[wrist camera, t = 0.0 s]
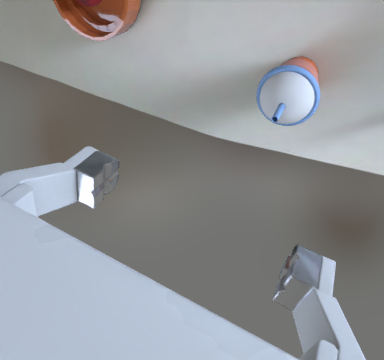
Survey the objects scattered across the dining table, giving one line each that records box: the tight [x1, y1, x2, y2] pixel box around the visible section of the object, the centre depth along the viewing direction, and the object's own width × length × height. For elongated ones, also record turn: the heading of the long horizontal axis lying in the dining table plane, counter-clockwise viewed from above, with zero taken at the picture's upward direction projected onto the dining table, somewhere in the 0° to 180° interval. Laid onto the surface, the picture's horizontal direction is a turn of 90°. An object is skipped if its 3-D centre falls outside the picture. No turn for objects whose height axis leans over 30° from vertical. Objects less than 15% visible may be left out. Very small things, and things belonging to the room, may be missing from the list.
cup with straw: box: [257, 57, 320, 126], centre depth 49 cm, size 9×9×18 cm
